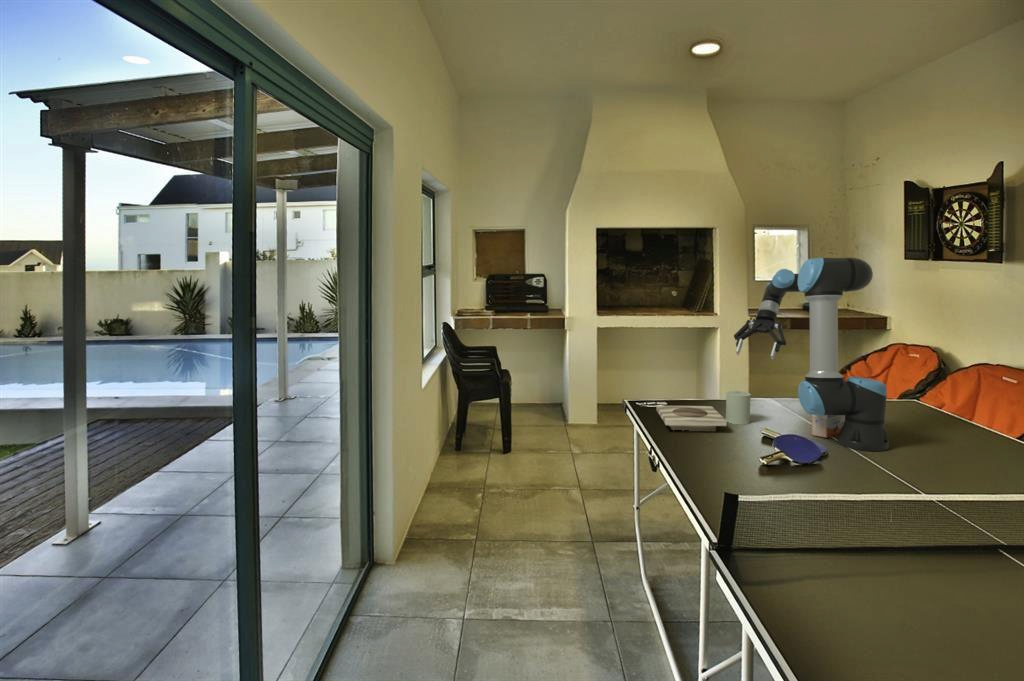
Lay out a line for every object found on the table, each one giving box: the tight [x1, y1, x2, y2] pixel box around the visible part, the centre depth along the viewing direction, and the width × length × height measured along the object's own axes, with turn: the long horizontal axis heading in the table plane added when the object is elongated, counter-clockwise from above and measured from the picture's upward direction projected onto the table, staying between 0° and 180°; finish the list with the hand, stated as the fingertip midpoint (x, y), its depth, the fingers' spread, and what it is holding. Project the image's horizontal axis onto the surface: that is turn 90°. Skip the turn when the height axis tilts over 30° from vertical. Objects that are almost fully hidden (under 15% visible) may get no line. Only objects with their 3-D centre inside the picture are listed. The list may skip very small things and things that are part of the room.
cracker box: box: [811, 375, 846, 439], centre depth 210 cm, size 14×6×21 cm, turn 126°
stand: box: [656, 405, 728, 432], centre depth 225 cm, size 22×22×5 cm
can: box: [724, 390, 752, 426], centre depth 228 cm, size 9×9×12 cm
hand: (754, 355), depth 234 cm, fingers open, 13 cm apart
